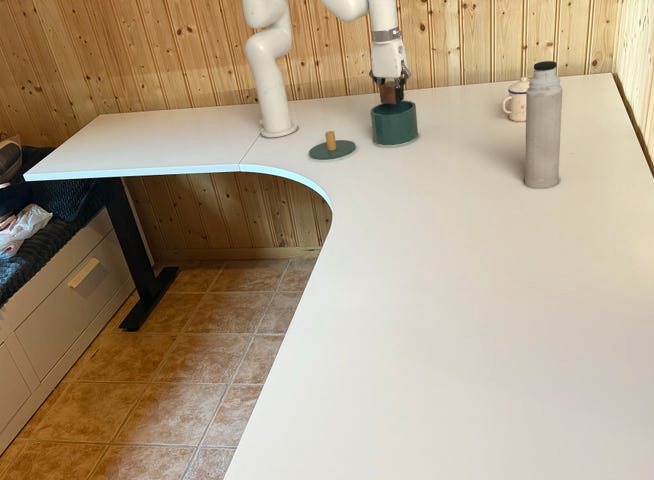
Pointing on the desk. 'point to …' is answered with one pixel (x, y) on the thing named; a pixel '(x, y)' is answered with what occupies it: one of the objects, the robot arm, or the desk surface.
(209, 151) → the desk surface
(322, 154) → the lid
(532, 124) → the thermos bottle
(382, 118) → the tin
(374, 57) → the robot arm
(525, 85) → the teacup with lid
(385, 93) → the block
